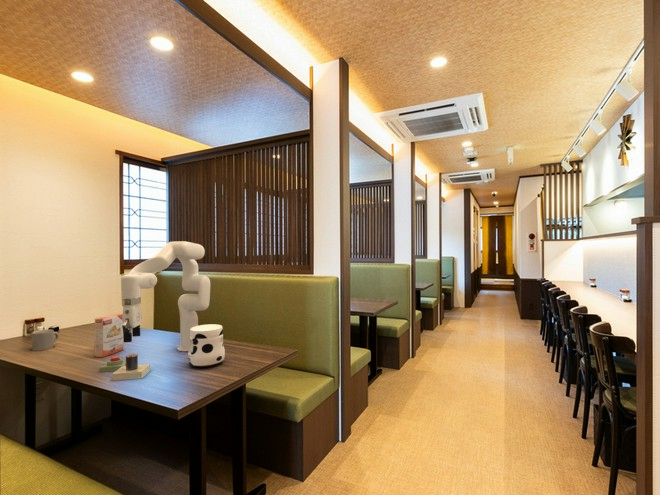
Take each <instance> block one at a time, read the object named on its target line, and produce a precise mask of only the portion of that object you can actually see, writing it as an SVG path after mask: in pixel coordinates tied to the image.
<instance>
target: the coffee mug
mask: <svg viewBox="0 0 660 495" xmlns="http://www.w3.org/2000/svg"><path fill="white" fill-rule="evenodd" d="M59 338H60V333H59V332H57V331H54V329H41V330H34V331H32V332H31V351H33V352H39V351H40V352H41V351H46V350H50V349H53V348H54V346H55V342H57V341H58V340H59Z"/></svg>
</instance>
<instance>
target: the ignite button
mask: <svg viewBox="0 0 660 495" xmlns="http://www.w3.org/2000/svg"><path fill="white" fill-rule="evenodd" d="M119 358H120V356H119V355H114V356H111V357H110V359H111V362H113V361H118V360H119Z"/></svg>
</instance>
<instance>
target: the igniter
mask: <svg viewBox="0 0 660 495" xmlns="http://www.w3.org/2000/svg"><path fill="white" fill-rule="evenodd" d="M122 366H126V360H124V358H123V357H119V360H118V361H113V362H111V358H110V359H107V361H106V362H105V363H104V364H102V365H101V366H100V367H99V373H102V372H115V371H117V370H118V369H119V368H121V367H122Z"/></svg>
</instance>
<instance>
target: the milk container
mask: <svg viewBox="0 0 660 495" xmlns="http://www.w3.org/2000/svg"><path fill="white" fill-rule="evenodd" d="M187 352H188V353H187V360H188V363H189V365H190V366H192V367H196V368H207V367H208V368H209V367H214V366H216V365H219V364H221V363H223V361H224V360H225V357H226V350H225V346H224V328H223V325H221V324H214V323H213V324H212V323H211V324H200V325H198V326H195V327H192V328H191V329H190V349H189V351H187Z"/></svg>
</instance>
